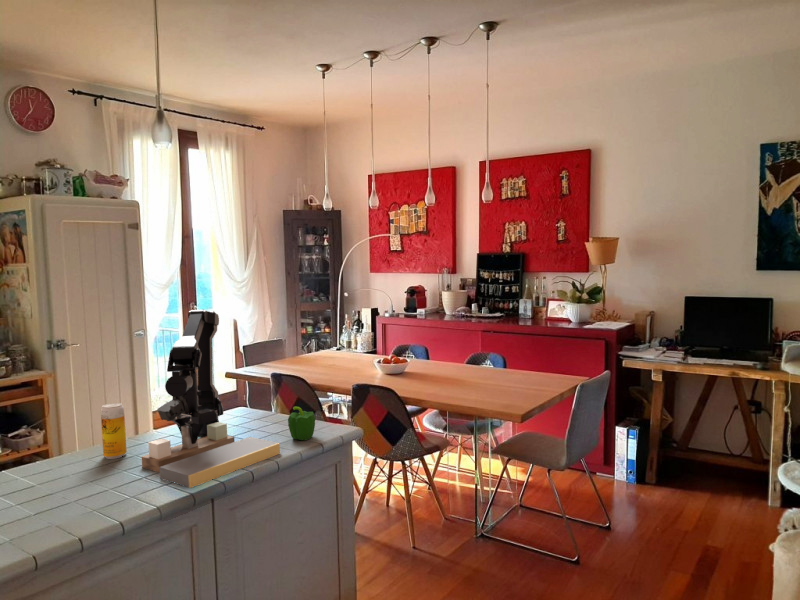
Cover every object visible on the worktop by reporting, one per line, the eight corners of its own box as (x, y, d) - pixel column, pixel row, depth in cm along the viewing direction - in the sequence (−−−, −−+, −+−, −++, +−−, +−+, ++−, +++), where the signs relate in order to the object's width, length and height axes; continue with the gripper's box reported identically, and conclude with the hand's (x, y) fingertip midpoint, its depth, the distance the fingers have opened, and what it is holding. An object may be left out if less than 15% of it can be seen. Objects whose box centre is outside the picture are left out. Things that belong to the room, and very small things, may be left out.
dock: (160, 478, 155) (159, 467, 155) (250, 446, 179) (249, 436, 179) (190, 488, 148) (189, 476, 147) (280, 453, 172) (279, 443, 172)
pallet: (142, 467, 164) (140, 434, 163) (217, 442, 184) (216, 413, 184) (159, 472, 159) (157, 439, 159) (234, 446, 180) (233, 417, 179)
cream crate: (149, 456, 163) (148, 442, 163) (162, 452, 167) (161, 438, 166) (157, 459, 161) (157, 444, 161) (171, 455, 164) (170, 440, 164)
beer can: (98, 458, 173) (95, 406, 171) (115, 451, 178) (112, 401, 177) (114, 460, 170) (111, 408, 169) (131, 453, 176) (128, 403, 175)
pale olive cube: (207, 438, 179) (206, 425, 178) (218, 434, 182) (217, 421, 182) (216, 440, 176) (215, 427, 176) (227, 436, 180) (226, 423, 179)
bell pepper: (321, 436, 188) (320, 404, 187) (305, 443, 181) (304, 411, 180) (300, 433, 192) (298, 402, 191) (283, 440, 185) (282, 408, 184)
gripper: (141, 391, 169) (145, 445, 170) (182, 398, 158) (185, 456, 160) (176, 383, 178) (179, 435, 179) (217, 390, 168) (220, 445, 169)
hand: (189, 442), depth 171 cm, fingers closed on pallet, 3 cm apart
